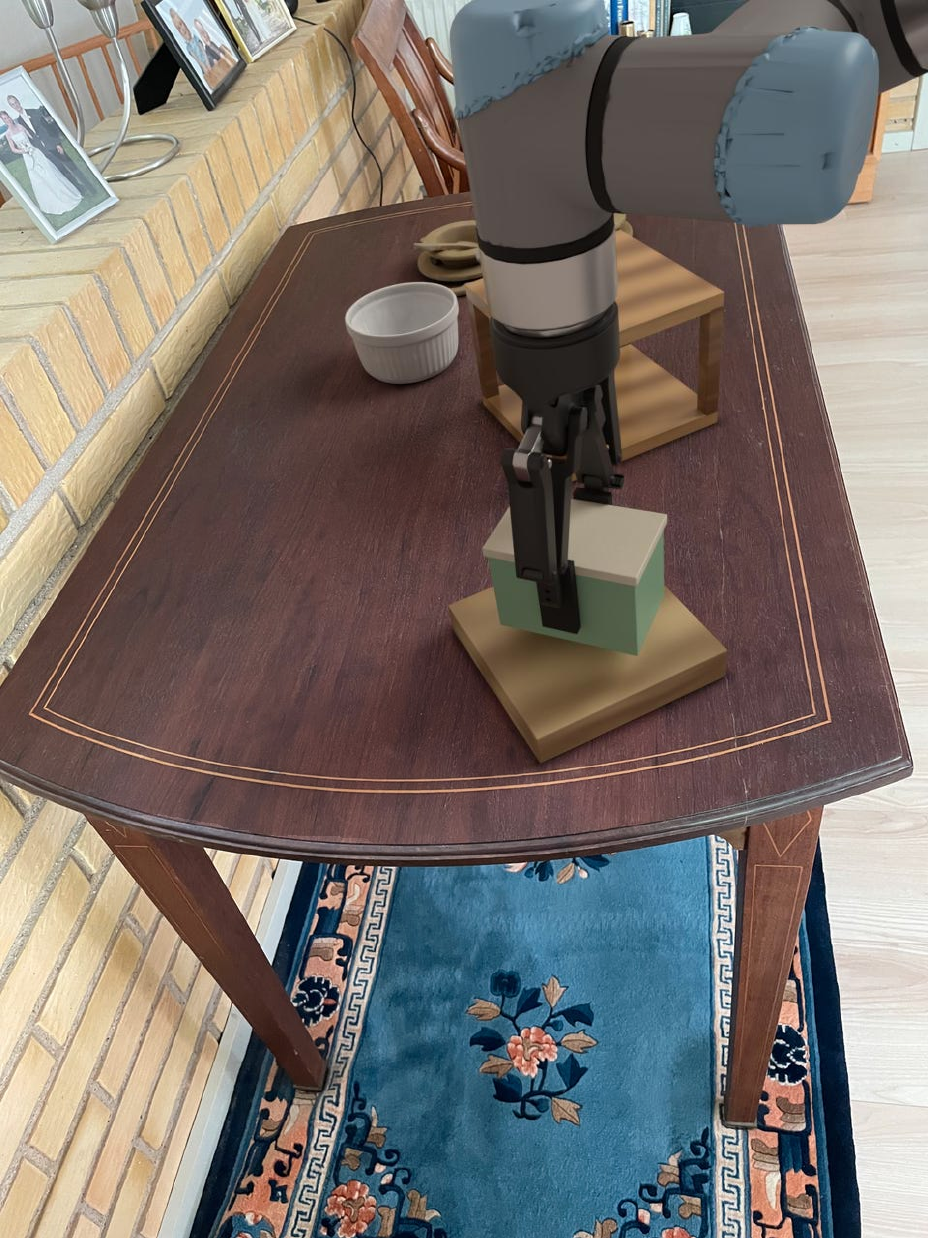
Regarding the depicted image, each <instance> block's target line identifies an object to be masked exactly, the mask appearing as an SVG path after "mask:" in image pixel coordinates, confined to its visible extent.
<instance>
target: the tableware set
mask: <svg viewBox="0 0 928 1238" xmlns="http://www.w3.org/2000/svg"><path fill="white" fill-rule="evenodd" d="M626 219H627V214H618V213H614V224H615V231H618V230H622V231H623V232H625V233H627V234H628V235H630V236H632V237H633V235H634V230H633V227H632V225H631V224H630V223H629V221H627V220H626ZM475 229H476V221H475V219H471V220H460V221H455V222H451V223H447V224H445V225H442V226H440V227H437V228H436V229H433V230H432V231H431V232H429V233H428V234H427V235H426V236H424V237H421V239H420V240H419V241H420V242H414V243H413V246H412V249H413V250H416V251H421V253H420V255H419V256H418V258H417V268H418V270H419V272H420V273H421V274H422V275H424V276H425V277H427V278H429V279H432V280H435V281H440V282H462V281H463V282H464V281H468V280H474V279H478V278H483V274H482V267H481V264H480V263H479V262H478V261H477V259H476V253H477V250H478V248H479V246H478V240H477V234H476V231H475ZM471 282H472V281H470V282H466V283H464V284H463V285H462V286H459V287H451V288H449V289H450V290H452V291H453V292H454V294H455V295H456V297H459V296H460V297H461V296H465V295H466V289H465V284H468V283H471ZM466 296H467V295H466Z"/></svg>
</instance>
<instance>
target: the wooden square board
mask: <svg viewBox="0 0 928 1238" xmlns="http://www.w3.org/2000/svg"><path fill="white" fill-rule="evenodd" d="M447 608H448V612H449V617H450V621H451V626H452V630H453V631H454V634H455V635H456V636H457V638H458V639H459V641H460V643H461V644H462V646H463V648H464V649H465V650H466V652H467V653H468V655H469V656H470V658H471V659H472V661H473V662H474V664H475V665H476V667H477V669H478V670H479V672H480V673H481V674H482V676H483V677H484V679H485V681H486V683H487V684H488V686H489V687H490V689H491V690H492V692H493V693H494V694H495V697H496V698H497V699H498V701H499V702H500V704H501V705H502V707H503V708H504V710H505V712H506V713H507V715H508V716H509V717H510V719H511V721H512V722H513V724H514V725H515V727H516V728H517V730H518V732H519V733H520V735H521V736H522V737H523V739H524V740H525V742H526V744H527V745H528V747H529V748H530V750H531V752H532V753H533V754H534V756H535V757H536V759H537V761H538V762H539V763H540V764H543V763H546V762H548V761H549V760H551V759H553V758H555V757H558V756H560V755H562V754H565V753H566V752H568V751H570V750H573V749H575V748H577V747H579V746H581V745H583V744H585V743H587V742H589V741H591V740H593V739H596V738H598V737H601V736H602V735H604V734H606V733H608V732H611V731H612V730H615V729H617V728H619V727H622V726H623V725H626V724H627V723H629V722H632V721H633V720H636V719H638V718H640V717H642V716H644V715H646V714H648V713H651V712H652V711H655V710H657V709H659V708H662V707H663V706H665V705H668V704H669V703H672V702H674V701H676V700H678V699H680V698H682V697H684V696H686V695H689V694H691V693H693V692H695V691H698V690H699V689H701V688H703V687H705V686H708V685H709V684H711V683H713V682H716V681H718V680H720V679H722V678H725V677H726V671H727V670H726V669H727V658H728V657H727V656H728V650H727V649H726V648H725V646H724V645H723V644H722V643H721V642H719V640H718V639H717V638H716V637H715V636H714V635H713V634H712V633H711V632H710V631H709V630H708V629H707V628H706V626H704V624H703V623H702V622H701V621H700V620H699V619H697V617H696V616H695V615H694V614H693V613H692V612H691V611H690V610H689V609H688V608H687V607H686V606H685V605H684V604H683V603H682V602H681V601H680V600H679V599H678V598H677V596H676V595H675V594H674V593H673V592H672V591H671V590H670V589H669V588H668V587H667V586H666V585H665V584H664V598H663V600H662V602H661V605H660V607H659V609H658V611H657V613H656V616H655V618H654V620H653V622H652V625H651V627H650V629H649V631H648V634H647V636H646V638H645V640H644V643H643V645H642V647H641V649H640V652H639V654H638V656H635V655H630V654H626V653H622V652H617V651H613V650H609V649H604V648H600V647H596V646H591V645H587V644H583V643H578V642H574V641H570V640H565V639H561V638H556V637H552V636H548V635H543V634H539V633H535V632H530V631H526V630H522V629H517V628H513V627H509V626H504V625H501V624H500V620H499V615H498V609H497V604H496V599H495V593H494V588H493V585H492V586H491V587H488V588H485V589H483V590H481V591H478V592H476V593H474V594H471V595H468V596H466V597H465V598H462V599H459V600H458V601H455V602H453V603H450V604H449V605H447Z"/></svg>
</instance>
